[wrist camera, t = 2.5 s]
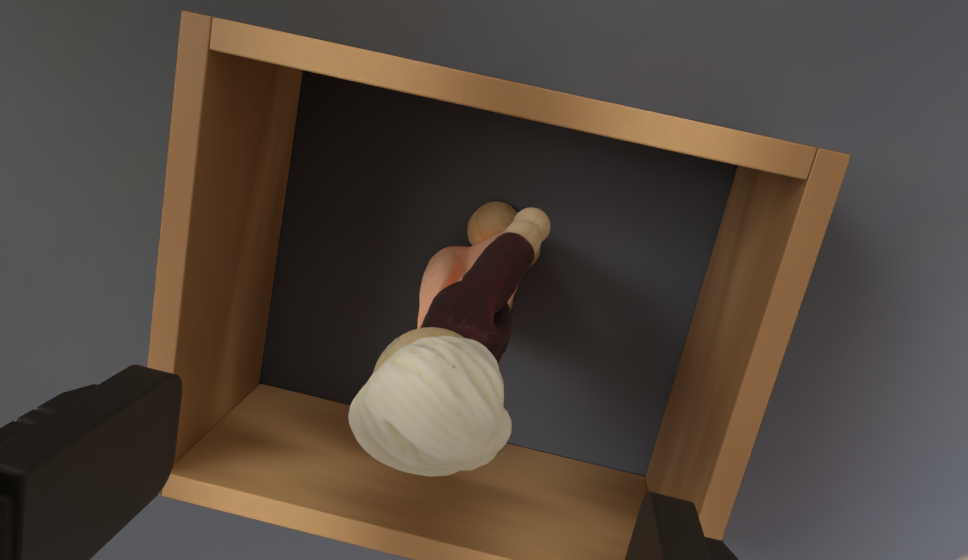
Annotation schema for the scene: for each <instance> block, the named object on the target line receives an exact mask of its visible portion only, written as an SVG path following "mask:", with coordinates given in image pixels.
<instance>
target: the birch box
mask: <svg viewBox="0 0 968 560" xmlns="http://www.w3.org/2000/svg"><path fill="white" fill-rule="evenodd" d="M303 70H304V71H308V72H313V73H318V74H322V75H327V76H331V77H336V78H340V79H345V80H350V81H354V82H359V83H363V84H368V85H372V86H377V87H382V88H386V89H391V90H395V91H400V92H404V93H409V94H414V95H418V96H423V97H427V98H432V99H436V100H441V101H445V102H450V103H455V104H459V105H464V106H468V107H473V108H477V109H482V110H487V111H491V112H496V113H500V114H505V115H509V116H514V117H519V118H523V119H528V120H532V121H537V122H541V123H546V124H551V125H555V126H560V127H564V128H569V129H573V130H578V131H583V132H587V133H592V134H596V135H601V136H605V137H610V138H615V139H619V140H624V141H628V142H633V143H637V144H642V145H647V146H651V147H656V148H660V149H665V150H669V151H674V152H679V153H683V154H688V155H692V156H697V157H701V158H706V159H711V160H715V161H720V162H724V163H729V164H733V165H738V167H737V171H736V174H735V177H734V181H733V184H732V187H731V191H730V194H729V197H728V201H727V204H726V207H725V211H724V214H723V218H722V221H721V224H720V228H719V231H718V234H717V238H716V241H715V244H714V248H713V251H712V254H711V258H710V261H709V265H708V268H707V271H706V275H705V278H704V281H703V285H702V288H701V291H700V295H699V298H698V301H697V305H696V308H695V312H694V315H693V318H692V322H691V325H690V328H689V332H688V335H687V338H686V342H685V345H684V348H683V352H682V355H681V358H680V362H679V365H678V369H677V372H676V375H675V379H674V382H673V385H672V389H671V392H670V395H669V399H668V402H667V405H666V409H665V412H664V416H663V419H662V422H661V426H660V429H659V432H658V436H657V439H656V442H655V446H654V449H653V452H652V456H651V459H650V463H649V466H648V469H647V473H646V476H645V477H644V476H639V475H635V474H631V473H627V472H623V471H619V470H615V469H611V468H606V467H602V466H598V465H594V464H590V463H586V462H582V461H578V460H573V459H569V458H565V457H561V456H557V455H553V454H549V453H545V452H541V451H536V450H532V449H528V448H524V447H520V446H516V445H512V444H508V443H506V444H505V445H504V446H503V448H502V449H501V450H499V451H498V452H497V454H496V455H495V457H494V459H492V460H491V461H490V462H489V463H487V464H485V465H483V466H479V467H478V468H476V469H474V470H469V471H458V472H456V473H454V474H450V475H447V476H433V477H429V476H423V475H416V474H411V473H407V472H403V471H399V470H397V469H395V468H392V467H390V466H388V465H386V464H384V463H382V462H380V461H378V460H376V459H375V458H373V457H372V456H371V455H370V454H368V453H367V452H366V451H365V450H364V449H363V448H362V447H361V445H360V444H359V443H358V441H357V440H356V438H355V436H354V434H353V432H352V430H351V427H350V425H349V419H348V414H349V409H350V405H347V404H343V403H339V402H334V401H330V400H326V399H322V398H318V397H314V396H310V395H306V394H301V393H297V392H293V391H289V390H285V389H281V388H277V387H273V386H269V385H264V384H259V382H260V375H261V368H262V361H263V354H264V347H265V339H266V332H267V325H268V318H269V311H270V304H271V296H272V289H273V282H274V275H275V268H276V261H277V253H278V246H279V239H280V232H281V225H282V217H283V210H284V203H285V196H286V189H287V182H288V174H289V167H290V160H291V153H292V146H293V139H294V131H295V124H296V117H297V110H298V103H299V95H300V88H301V81H302V74H303ZM850 158H851V155H850V154H846V153H841V152H836V151H832V150H827V149H823V148H818V147H813V146H809V145H804V144H799V143H795V142H790V141H786V140H781V139H776V138H772V137H767V136H762V135H758V134H753V133H749V132H744V131H739V130H735V129H730V128H725V127H721V126H716V125H712V124H707V123H702V122H698V121H693V120H688V119H684V118H679V117H675V116H670V115H665V114H661V113H656V112H651V111H647V110H642V109H638V108H633V107H628V106H624V105H619V104H614V103H610V102H605V101H601V100H596V99H591V98H587V97H582V96H577V95H573V94H568V93H564V92H559V91H554V90H550V89H545V88H540V87H536V86H531V85H527V84H522V83H517V82H513V81H508V80H503V79H499V78H494V77H490V76H485V75H480V74H476V73H471V72H467V71H462V70H457V69H453V68H448V67H443V66H439V65H434V64H430V63H425V62H420V61H416V60H411V59H406V58H402V57H397V56H393V55H388V54H383V53H379V52H374V51H369V50H365V49H360V48H356V47H351V46H346V45H342V44H337V43H332V42H328V41H323V40H319V39H314V38H309V37H305V36H300V35H295V34H291V33H286V32H282V31H277V30H272V29H268V28H263V27H258V26H254V25H249V24H245V23H240V22H235V21H231V20H226V19H221V18H217V17H212V16H208V15H203V14H198V13H194V12H189V11H185V10H183V11H182V12H181V21H180V32H179V42H178V52H177V63H176V73H175V84H174V94H173V105H172V115H171V126H170V136H169V146H168V157H167V167H166V178H165V188H164V199H163V209H162V219H161V230H160V240H159V251H158V261H157V272H156V282H155V293H154V303H153V313H152V324H151V334H150V345H149V355H148V366H147V367H148V368H152V369H156V370H160V371H164V372H168V373H173V374H177V375H178V376H179V377H180V378H181V381H182V398H181V407H180V416H179V426H178V435H177V444H176V453H175V460H174V465H173V468H172V471H171V474H170V476H169V478H168V481H167V482H166V484H165V486H164V487H163V489H162V490H161V492H160V493H159V494H158V495H162V496H164V497H168V498H172V499H176V500H180V501H184V502H188V503H192V504H196V505H200V506H204V507H208V508H212V509H216V510H220V511H224V512H228V513H232V514H236V515H240V516H243V517H247V518H251V519H255V520H259V521H263V522H267V523H271V524H275V525H279V526H283V527H287V528H291V529H295V530H299V531H303V532H307V533H311V534H315V535H319V536H323V537H327V538H331V539H334V540H338V541H342V542H346V543H350V544H354V545H358V546H362V547H366V548H370V549H374V550H378V551H382V552H386V553H390V554H394V555H398V556H402V557H406V558H410V559H414V560H625V557H626V553H627V550H628V546H629V543H630V540H631V536H632V533H633V529H634V526H635V523H636V519H637V516H638V512H639V509H640V506H641V503H642V500H643V498H644V496H645V494H646V493H647V492H648V491H650V492H654V493H658V494H662V495H666V496H670V497H674V498H678V499H682V500H686V501H691V502H693V503H694V504H695V507H696V510H697V513H698V517H699V520H700V523H701V526H702V530H703V533H704V536H705V537H709V538H713V539H717V540H721V541H722V538H723V535H724V532H725V529H726V526H727V523H728V520H729V517H730V514H731V511H732V508H733V505H734V502H735V499H736V496H737V494H738V491H739V488H740V485H741V482H742V479H743V476H744V473H745V470H746V467H747V464H748V461H749V458H750V455H751V452H752V449H753V446H754V443H755V440H756V437H757V434H758V431H759V428H760V425H761V422H762V419H763V416H764V413H765V410H766V407H767V404H768V401H769V399H770V396H771V393H772V390H773V387H774V384H775V381H776V378H777V375H778V372H779V369H780V366H781V363H782V360H783V357H784V354H785V351H786V348H787V345H788V342H789V339H790V336H791V333H792V330H793V327H794V324H795V321H796V318H797V315H798V312H799V309H800V306H801V304H802V301H803V298H804V295H805V292H806V289H807V286H808V283H809V280H810V277H811V274H812V271H813V268H814V265H815V262H816V259H817V256H818V253H819V250H820V247H821V244H822V241H823V238H824V235H825V232H826V229H827V226H828V223H829V220H830V217H831V214H832V211H833V209H834V206H835V203H836V200H837V197H838V194H839V191H840V188H841V185H842V182H843V179H844V176H845V173H846V170H847V167H848V164H849V161H850Z"/></svg>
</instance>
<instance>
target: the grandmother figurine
mask: <svg viewBox="0 0 968 560" xmlns="http://www.w3.org/2000/svg"><path fill="white" fill-rule="evenodd" d="M549 232H550V220H549V218H548V216H547V215H546V214H545V213H544V212H543V211H542V210H540V209H538V208H534V207H528V208H525V209H523V210H521V211H520V212H519V213H517V211H516V210H515V209H514V208H513V207H512V206H510V205H508V204H507V203H504V202H500V201H492V202H488V203H486V204H484V205H482V206H481V207H479V208H478V209H477V210H476V211H475V213H474V214H473V215H472V216H471V218H470V220H469V222H468V226H467V235H468V239H469V241H470V243H471V245H472V246H471V247H465V246H450V247H446V248H443V249H442V250H440V251H439V252H437V253H436V254H435V255H434V256H433V257H432V258H431V259H430V261H429V263H428V265H427V268H426V270H425V272H424V275H423V279H422V283H421V288H420V295H419V302H420V307H419V314H418V325H417V329H415V330H412V331H409V332H407V333H405V334H403V335H401V336H400V337H398V338H396V339H395V340H394V341H393V342H392V343H390V344H389V345H388V346H387V348H386V349H385V350H384V351H383V353H382V354H381V356H380V357H379V359H378V361H377V363H376V366H375V368H374V371H373V374H372V375H371V377H370V378H369V380H368V381H367V383H366V384H365V385H364V386H363V387H362V388H361V390H360V391H359V392H358V394H357V395H356V396H355V398H354V399H353V401H352V403H351V405H350V409H349V414H348V419H349V425H350V427H351V430H352V432H353V434H354V436H355V438H356V440H357V441H358V443H359V444H360V445H361V447H362V448H363V449H364V450H365V451H366V452H367V453H368V454H370V455H371V456H372V457H373V458H375V459H376V460H378V461H380V462H382V463H384V464H386V465H388V466H390V467H392V468H395V469H397V470H399V471H403V472H407V473H411V474H416V475H423V476H429V477H433V476H447V475H450V474H454V473H456V472H458V471H469V470H474V469H476V468H478V467H479V466H483V465H485V464H487V463H489V462H490V461H491V460H492V459H494V457H495V455H496V454H497V452H498V451H499V450H501V449H502V448H503V446H504V445H505V444H506V443H507V441H508V439H509V437H510V435H511V428H512V423H511V419H510V416H509V414H508V412H507V411H506V410H505V409H504V407H503V404H504V382H503V379H502V376H501V373H500V372H499V366H498V363H499V360H500V358H501V356H502V354H503V353H504V352H505V350H506V348H507V345H508V342H509V337H510V332H511V321H512V315H511V309H512V306H513V297H514V294H515V292H516V290H517V288H518V285H519V283H520V282H521V280H522V279H523V278H524V276H525V274H526V272H527V271H528V270H529V268H530V267H531V266H532V265H533V264H534V263H535V262H536V261H537V259H538V258H539V255H540V251H541V246H540V245H541V242H542V241H544V240H545V239H546V237H547V236H548V234H549Z"/></svg>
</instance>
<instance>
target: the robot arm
mask: <svg viewBox="0 0 968 560" xmlns="http://www.w3.org/2000/svg"><path fill="white" fill-rule="evenodd" d="M181 398H182V381H181V378H180V377H179V376H178V375H177V374H173V373H168V372H164V371H160V370H156V369H152V368H148V367H144V366H140V365H131V366H129V367H128V368H126V369H124V370H123V371H121V372H119V373H117V374H116V375H114V376H112V377H111V378H109V379H107V380H106V381H104V382H102V383H101V384H99V385H96V384H93V385H90V386H86V387H82V388H79V389H75V390H72V391H68V392H64V393H61V394H60V395H58V396H56V397H54V398H53V399H51V400H49V401H47V402H46V403H44V404H42V405H40V406H39V407H38V409H37V410H31V411H30V412H28V413H26V414H24V415H23V416H21V417H19V418H18V420H17V422H14V421H12V422H10V423H9V424H7V425H5V426H3V427H2V428H0V560H90V559H91V558H92V557H93V556H94V555H95V554H96V553H97V552H98V551H99V550H100V549H101V548H102V547H103V546H104V545H105V544H106V543H108V542H109V541H110V540H111V539H112V538H113V537H114V536H115V535H116V534H117V533H118V532H119V531H120V530H121V529H122V528H123V527H124V526H125V525H127V524H128V523H129V522H130V521H131V520H132V519H133V518H134V517H135V516H136V515H137V514H138V513H139V512H140V511H141V510H142V509H143V508H144V507H146V506H147V505H148V504H149V503H150V502H151V501H152V500H153V499H154V498H155V497H156V496H157V495H158V494H159V493H160V492H161V490H162V489H163V487H164V486H165V484H166V482H167V481H168V478H169V476H170V474H171V471H172V468H173V465H174V460H175V453H176V444H177V435H178V426H179V416H180V407H181ZM625 560H738V559H737V557H736V556H735V555H734V554H733V553H732V552H731V551H730V550H729V548H728V547H727V546H726V545H725V544H724V543H723V542H722V541H721V540H717V539H713V538H709V537H705V536H704V533H703V530H702V526H701V523H700V520H699V517H698V513H697V510H696V507H695V504H694V503H693V502H691V501H686V500H682V499H678V498H674V497H670V496H666V495H662V494H658V493H654V492H650V491H648V492H647V493H646V494H645V496H644V498H643V500H642V503H641V506H640V509H639V512H638V516H637V519H636V523H635V526H634V529H633V533H632V536H631V540H630V543H629V546H628V550H627V553H626V557H625Z"/></svg>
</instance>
